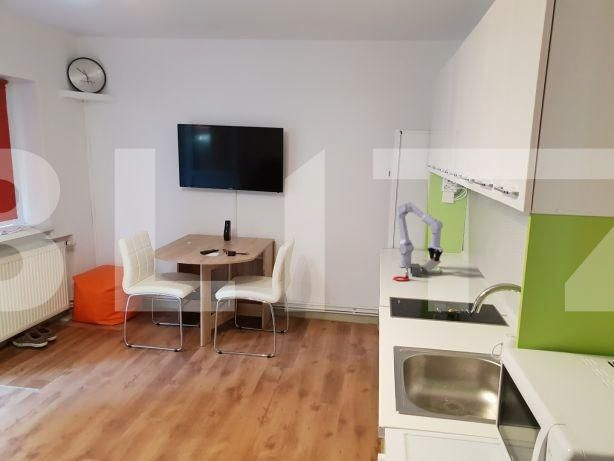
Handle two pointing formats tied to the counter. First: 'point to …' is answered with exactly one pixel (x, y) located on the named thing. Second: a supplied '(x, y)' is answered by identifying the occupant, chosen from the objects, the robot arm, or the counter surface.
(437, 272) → the tray
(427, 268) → the pin
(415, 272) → the bracket
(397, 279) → the tow hook
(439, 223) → the robot arm
